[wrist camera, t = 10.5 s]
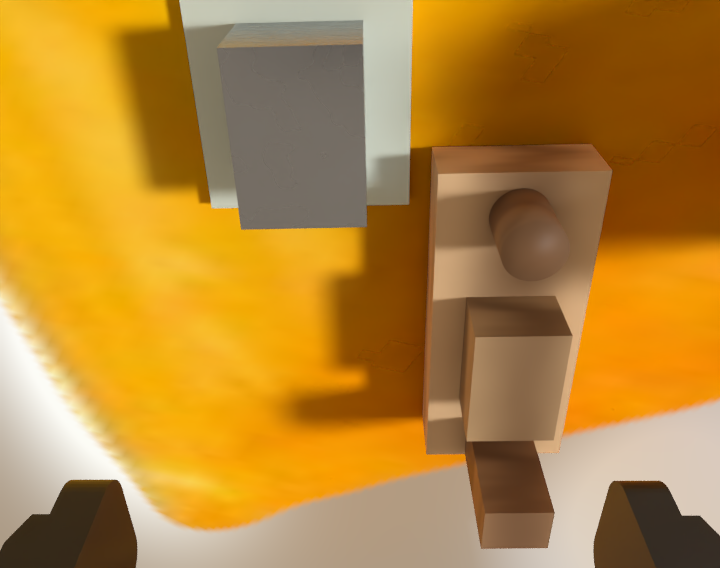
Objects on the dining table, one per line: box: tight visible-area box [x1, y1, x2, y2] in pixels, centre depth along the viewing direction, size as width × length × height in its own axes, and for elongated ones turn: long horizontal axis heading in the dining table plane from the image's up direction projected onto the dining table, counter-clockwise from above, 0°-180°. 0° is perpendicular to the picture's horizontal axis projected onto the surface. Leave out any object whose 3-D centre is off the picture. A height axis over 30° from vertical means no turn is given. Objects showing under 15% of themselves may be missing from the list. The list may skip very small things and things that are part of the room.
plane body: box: [422, 144, 613, 549], centre depth 30 cm, size 7×16×9 cm, turn 1°
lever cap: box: [217, 20, 367, 229], centre depth 26 cm, size 5×7×4 cm
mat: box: [179, 0, 413, 208], centre depth 28 cm, size 9×9×1 cm
